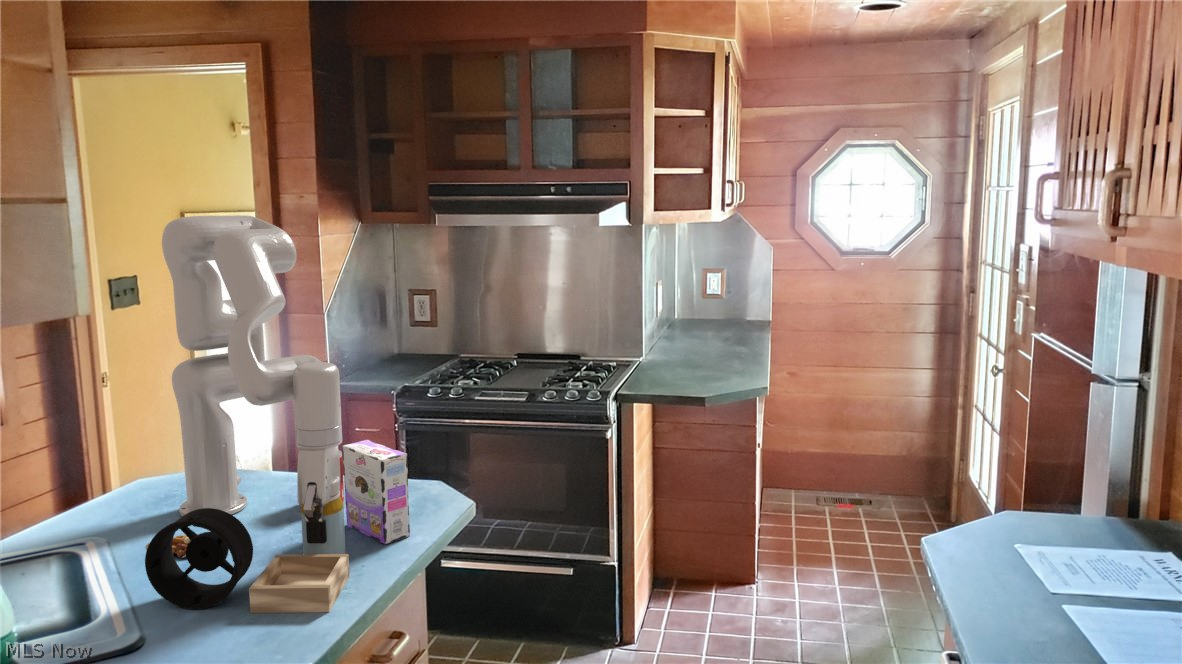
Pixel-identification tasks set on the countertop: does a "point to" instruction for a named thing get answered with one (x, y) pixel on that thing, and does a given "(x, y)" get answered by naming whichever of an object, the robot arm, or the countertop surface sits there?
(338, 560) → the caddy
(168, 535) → the black ducted fan housing
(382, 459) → the candy box
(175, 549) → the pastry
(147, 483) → the countertop surface
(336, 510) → the bottle
